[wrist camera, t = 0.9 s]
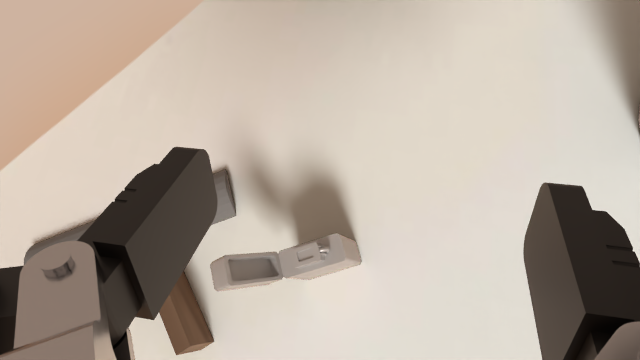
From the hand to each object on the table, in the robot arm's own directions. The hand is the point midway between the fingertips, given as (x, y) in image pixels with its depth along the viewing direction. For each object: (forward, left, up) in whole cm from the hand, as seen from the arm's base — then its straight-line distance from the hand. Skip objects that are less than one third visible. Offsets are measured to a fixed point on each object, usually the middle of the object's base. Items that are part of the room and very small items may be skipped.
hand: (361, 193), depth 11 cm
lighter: (+7, -4, -20) cm, 22 cm away
